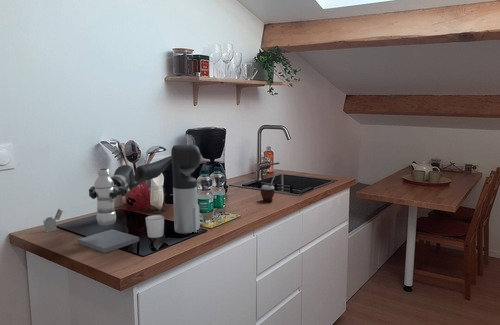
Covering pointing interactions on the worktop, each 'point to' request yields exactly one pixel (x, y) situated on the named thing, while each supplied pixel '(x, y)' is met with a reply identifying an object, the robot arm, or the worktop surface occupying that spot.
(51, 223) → the lighter
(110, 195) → the plastic bottle
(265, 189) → the mate gourd
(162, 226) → the white cup
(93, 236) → the board
